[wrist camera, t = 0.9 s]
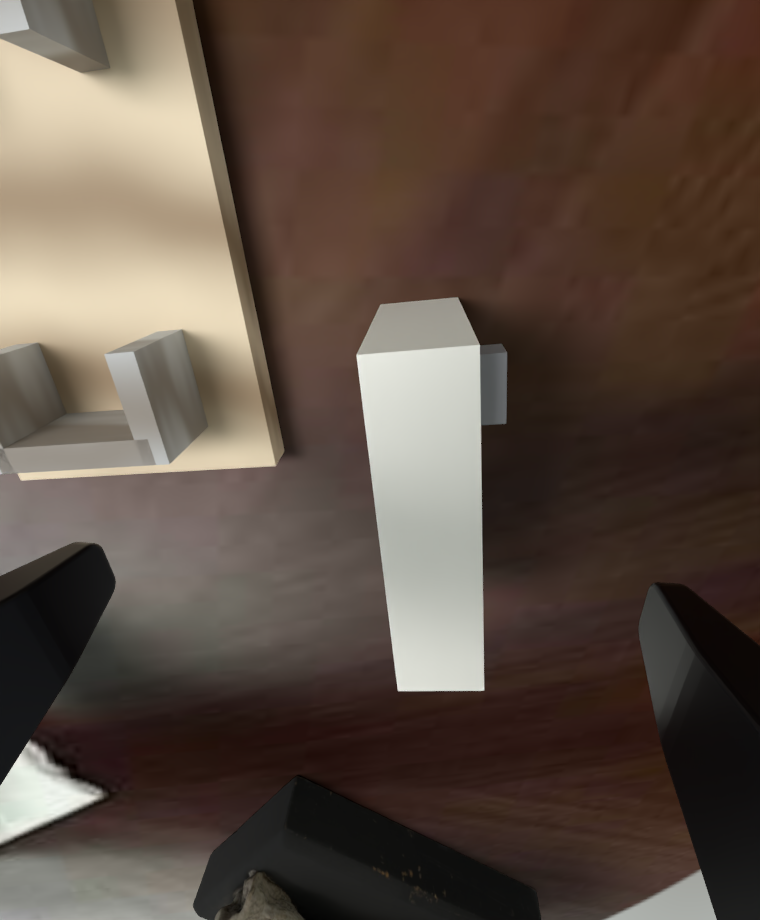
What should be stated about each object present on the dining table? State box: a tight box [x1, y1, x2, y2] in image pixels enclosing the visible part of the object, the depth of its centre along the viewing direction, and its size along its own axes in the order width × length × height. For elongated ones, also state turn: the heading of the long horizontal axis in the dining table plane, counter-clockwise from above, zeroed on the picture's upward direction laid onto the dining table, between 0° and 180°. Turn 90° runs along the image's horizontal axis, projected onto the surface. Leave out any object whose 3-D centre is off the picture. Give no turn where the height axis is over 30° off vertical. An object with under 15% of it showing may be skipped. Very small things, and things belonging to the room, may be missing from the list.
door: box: [357, 297, 507, 691], centre depth 18 cm, size 12×4×8 cm, turn 6°
